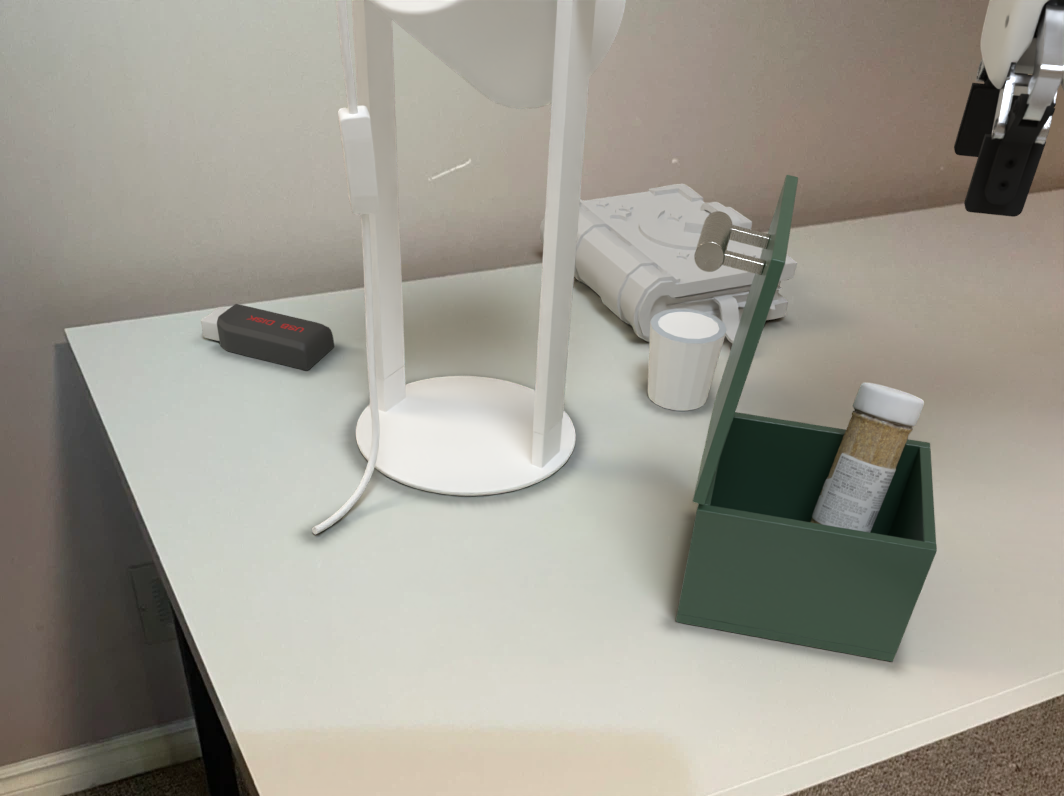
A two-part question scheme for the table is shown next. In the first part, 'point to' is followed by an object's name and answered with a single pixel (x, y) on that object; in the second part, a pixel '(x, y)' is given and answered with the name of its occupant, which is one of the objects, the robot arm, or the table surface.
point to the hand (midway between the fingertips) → (984, 182)
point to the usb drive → (268, 335)
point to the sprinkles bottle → (867, 457)
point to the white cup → (683, 357)
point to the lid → (754, 315)
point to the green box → (806, 545)
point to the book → (662, 258)
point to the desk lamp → (372, 181)
